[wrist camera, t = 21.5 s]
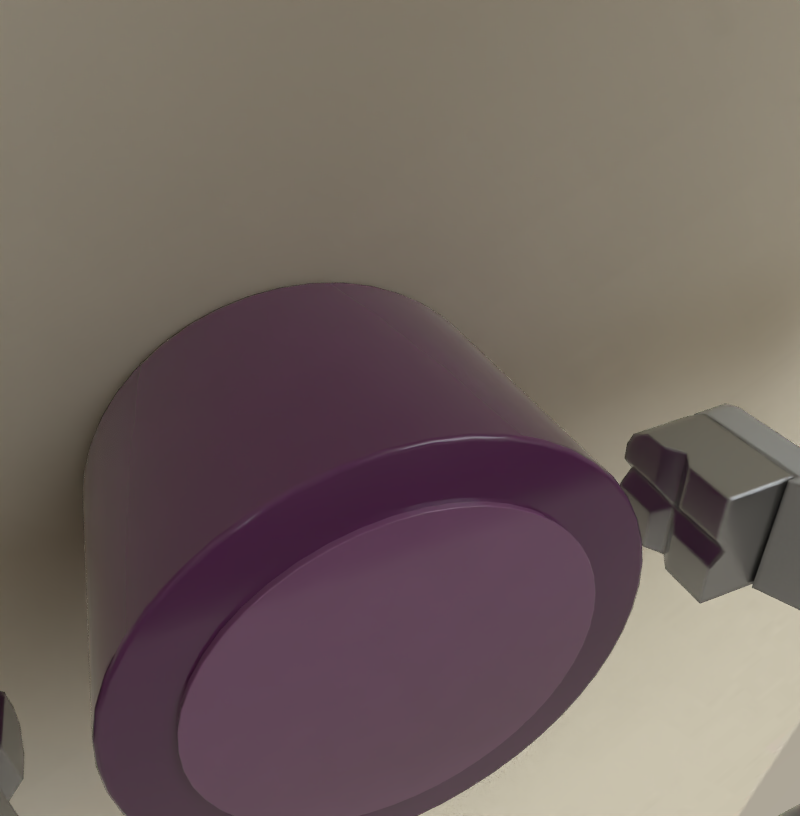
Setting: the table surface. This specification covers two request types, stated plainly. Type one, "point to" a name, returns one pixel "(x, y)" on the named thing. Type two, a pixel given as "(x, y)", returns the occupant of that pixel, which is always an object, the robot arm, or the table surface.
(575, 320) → the table surface
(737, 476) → the robot arm
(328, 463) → the dish
